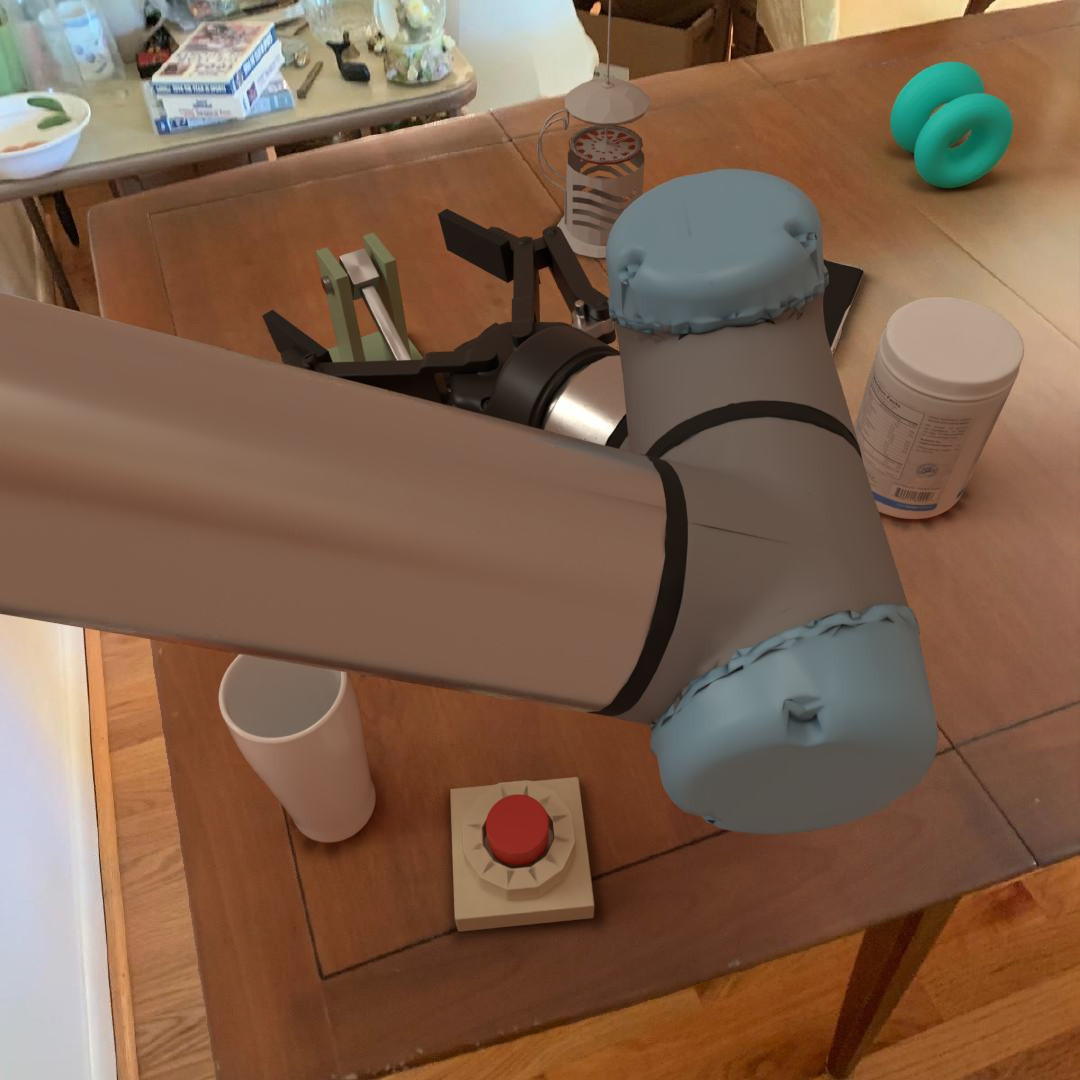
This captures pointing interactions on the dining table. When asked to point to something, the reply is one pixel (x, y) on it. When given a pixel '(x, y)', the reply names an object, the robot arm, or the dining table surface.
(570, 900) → the button box
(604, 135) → the french press
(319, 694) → the drinking glass
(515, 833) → the button
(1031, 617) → the dining table surface
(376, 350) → the bracket
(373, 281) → the lever
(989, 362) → the supplement tub
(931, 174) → the donuts
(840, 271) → the smartphone
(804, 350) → the robot arm
